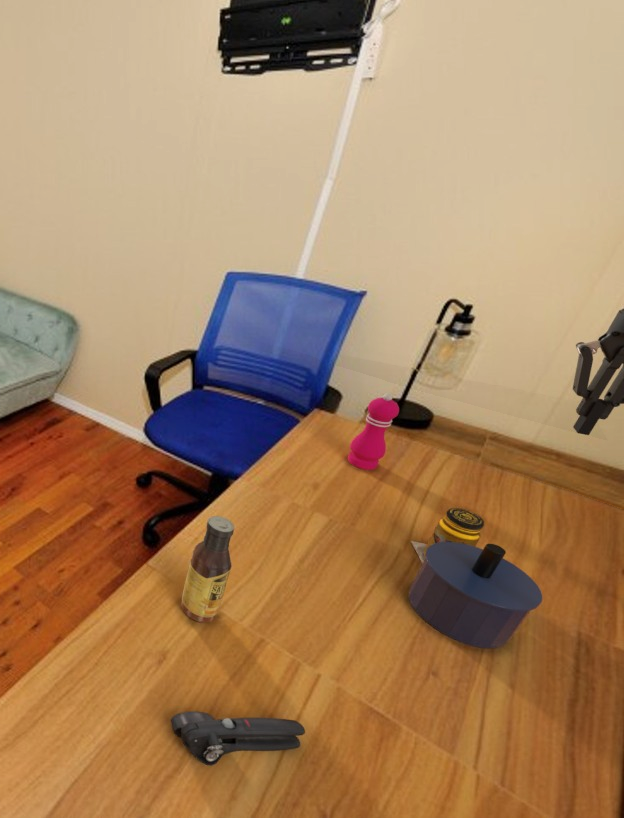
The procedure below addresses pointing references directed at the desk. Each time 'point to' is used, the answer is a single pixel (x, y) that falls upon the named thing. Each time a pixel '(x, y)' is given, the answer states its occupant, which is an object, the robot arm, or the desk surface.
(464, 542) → the condiment
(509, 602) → the pot lid
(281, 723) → the can opener
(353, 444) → the pepper mill
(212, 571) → the sauce bottle
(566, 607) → the desk surface
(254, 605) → the desk surface
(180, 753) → the desk surface
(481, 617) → the pot
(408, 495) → the desk surface
